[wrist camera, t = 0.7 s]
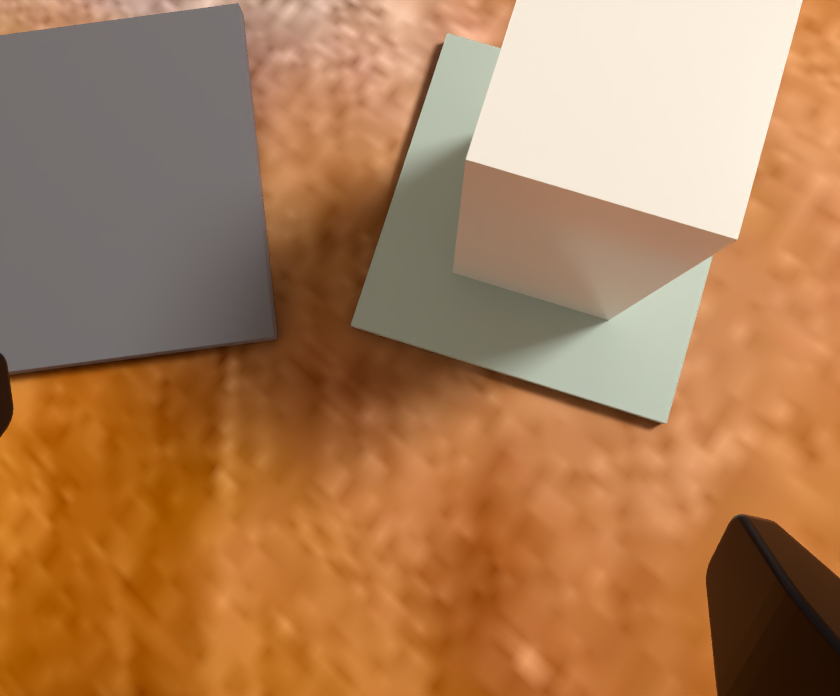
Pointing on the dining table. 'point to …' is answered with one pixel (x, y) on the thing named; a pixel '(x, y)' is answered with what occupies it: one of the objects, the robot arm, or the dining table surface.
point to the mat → (130, 192)
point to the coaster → (497, 307)
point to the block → (618, 144)
